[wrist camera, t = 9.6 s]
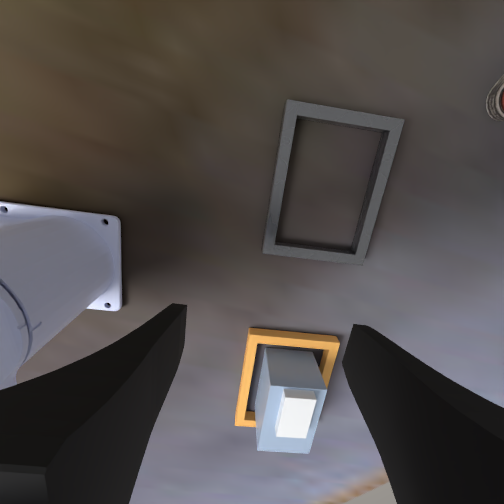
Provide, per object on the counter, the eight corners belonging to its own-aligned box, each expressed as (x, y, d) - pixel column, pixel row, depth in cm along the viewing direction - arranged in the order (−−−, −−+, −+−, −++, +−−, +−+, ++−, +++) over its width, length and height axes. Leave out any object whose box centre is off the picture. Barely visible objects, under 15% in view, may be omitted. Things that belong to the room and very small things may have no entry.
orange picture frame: (235, 416, 26) (234, 425, 25) (249, 327, 23) (249, 334, 22) (312, 421, 27) (314, 430, 26) (336, 336, 23) (340, 343, 22)
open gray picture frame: (261, 249, 21) (262, 253, 20) (284, 103, 17) (287, 99, 16) (357, 261, 21) (362, 265, 20) (396, 122, 18) (404, 119, 17)
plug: (254, 403, 26) (257, 460, 21) (265, 346, 24) (271, 394, 19) (297, 407, 26) (311, 463, 21) (312, 350, 24) (330, 398, 19)
